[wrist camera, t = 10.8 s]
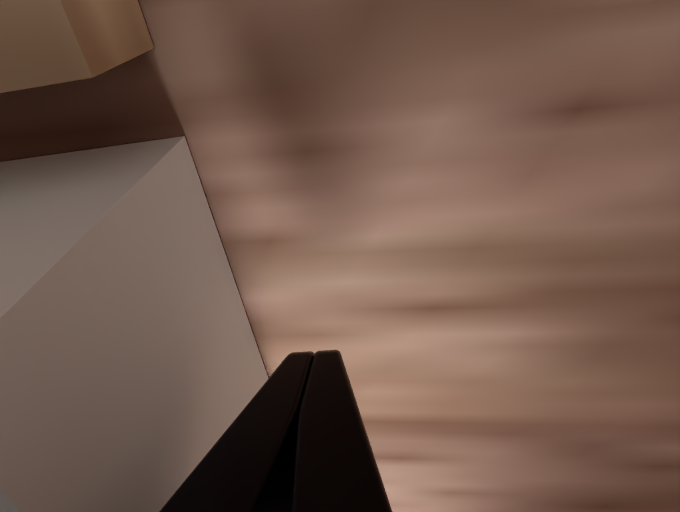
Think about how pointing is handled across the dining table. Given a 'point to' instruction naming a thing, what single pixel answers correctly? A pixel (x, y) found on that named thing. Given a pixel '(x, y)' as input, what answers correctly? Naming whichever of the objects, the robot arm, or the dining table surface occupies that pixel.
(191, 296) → the tilted light grey box
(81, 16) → the bay
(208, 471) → the robot arm
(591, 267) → the dining table surface
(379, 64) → the dining table surface
